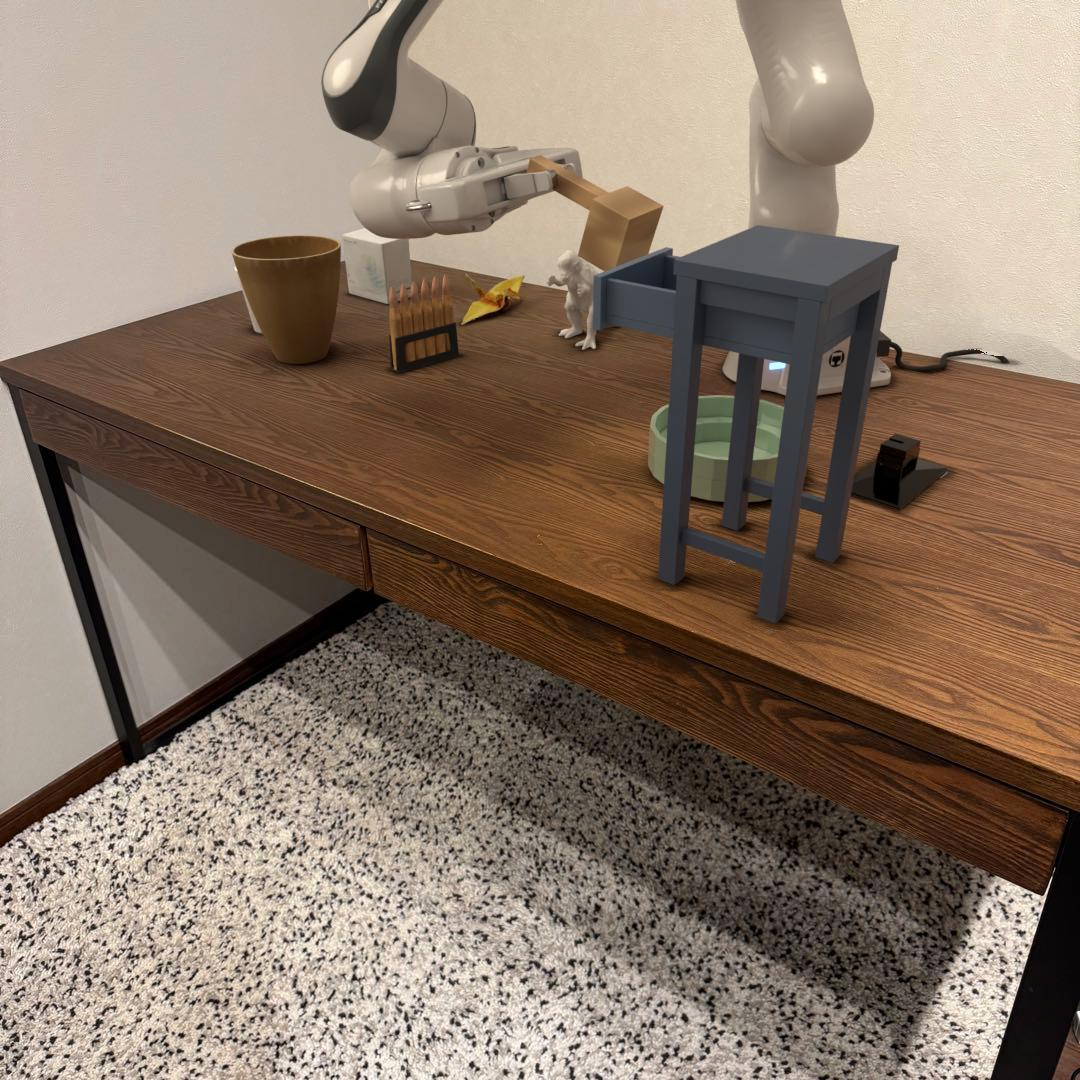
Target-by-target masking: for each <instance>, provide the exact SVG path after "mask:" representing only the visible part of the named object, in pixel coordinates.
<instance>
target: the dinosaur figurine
mask: <svg viewBox="0 0 1080 1080" xmlns="http://www.w3.org/2000/svg"><path fill="white" fill-rule="evenodd" d="M556 262H557V268H558V270H559V273H558V274H559V276H558V278H557V277H556V276H555V274H551V275H549V277H548V278H547V281H546V284H547V287H548V288H549V287H552V285H555V286H557V287H564V286H567V290H568V291H567V294H566V296H565V299H566V301H565V303H564V305H563V306H564V307H563V308H564V310H565V312H566V318H567V320H568V321H569V323H570V324H571V327H570V328H564V329H561V330H560V333H559V334H558V337H564V339H569V338H573V337H575V336H578V335H581V334H582V333H583V331H584V330H583V329H584V323H583V314H582V312H584V313H587V314H588V315H587V317H586V329H587V331H586V337H585V338H584V339H583V340H581V341H577V342H576V343H575V345H574V346H575V347H578V348H579V347H581V350H583V351H584V350H586V349H588V348H591V349H592V350H595V349H596V348H597V345H596V335H597V330H596V329H593V288H594V275H597V274H599V272H598V271H597V270H596V269H595V266H594V265H593V264H591V263H589V262H587V261H586V260H584V259H582V258H581V257H579V256H578V253H577V252H576V251H575V250H572V249H567V250H565V252H563V253H562V254H561V255H560V256H559V258H558V259H557V261H556ZM610 327H616V326H615V325H611V326H610Z"/></svg>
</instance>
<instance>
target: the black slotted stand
mask: <svg viewBox="0 0 1080 1080" xmlns="http://www.w3.org/2000/svg"><path fill="white" fill-rule="evenodd" d="M921 442H922V441H921V440H920V439H916V438H912V437H909V436H905V435H902V434H898V433H894V434H893V435H891V436H890V437H888V439H885V441H883V442H882V443H880V446H879V451H878V452H877V455H876V458H875V459H874V460H872V461H871V462H869V464H867V465H866V466H864V467H863V468H862V469H861V470H859V471H857V472H855V475H854V481H853V486H852V492H851V496H853V497H856V498H859V499H862V500H865V501H868V502H871V503H874V504H877V505H880V506H883V507H885V508H889V509H892V510H895V511H901V510H902V509H904V508H905V507H906V506H908V504H909V503H911V502H912V501H913V500H914V499H916V498H917V497H918V496H919V495H920V494H921V493H923V492H924V491H925V490H926V489H927V488H928V487H930V486H931V485H932V484H933V483H934V482H936V481H938V479H942V478H943V477H945V476H946V475H947V474H948V467H946V466H943V465H941V464H938V463H933V462H930V461H928V460H923V459H920V458H919V457H920V451H921V446H920V445H921Z"/></svg>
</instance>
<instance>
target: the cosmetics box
mask: <svg viewBox="0 0 1080 1080" xmlns="http://www.w3.org/2000/svg"><path fill="white" fill-rule="evenodd" d="M341 239H342V247H343V254H344V261H345V262H344V263H345V271H346V280H347V286H348V294H350V295H352V296H357V297H361V298H363V299H368V300H371V301H375V302H379V303H381V304H386V305H390V304H389V295H390V289H391V286H393V287H394V289H395V292H396V295H397V300H398V302H400V291H401V286H402V284H404V285H405V287H406V290H407V293H408V299H410V298H411V286H412V283H413V275H412V266H411V256H410V255H411V253H410V239H391V238H384V237H380V236H377V235H375V234H373V233H371V232H370V231H369V230H367V229H366V228H365V227H363V228H360V229H357V230H353V231H349V232H347V233H343V234H341Z"/></svg>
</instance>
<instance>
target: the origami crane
mask: <svg viewBox="0 0 1080 1080" xmlns="http://www.w3.org/2000/svg"><path fill="white" fill-rule="evenodd" d="M464 277H465V280H466V281H467V282H468V283H469V285H470V288H471V289H472V291H473V292H474V293H475V294H477V296H478V297H479V298H480V299H479V300H477V301H473V302H472V303H471V304H470V306H469V308H468V310H467V312H466V313H465V315H464V316H463V319H462V322H461V325H465V324H467V323H468V322H470V321H474V320H476V318H480V317H483V316H484V315H488V314H489V313H493V312H497V311H499V310H501V309H502V308H503V309H502V310H501V313H505V312H507V311H508V309H509V308H510V306H511V303H512V301H514V302H518V301H520V300H521V298H522V296H521V294H519V290H520V288H521V286H522V285H523V282H524V280H525V277H526V275H524V274H523V275H519V276H515V277H512V278H508V279H505V280H503V281H500V282H499V283H497V284H495V285H494V286H493V287H491V288H490V289H489V291H488V292H485V291H484V290H483V288H482V287H481V286H479V285H478V283H476V282H477V281H475V280H474V279H475V277H474V276H472V277H473V279H472V278H471V277H470V275H469V274H468V273H467V272H465V273H464Z"/></svg>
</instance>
